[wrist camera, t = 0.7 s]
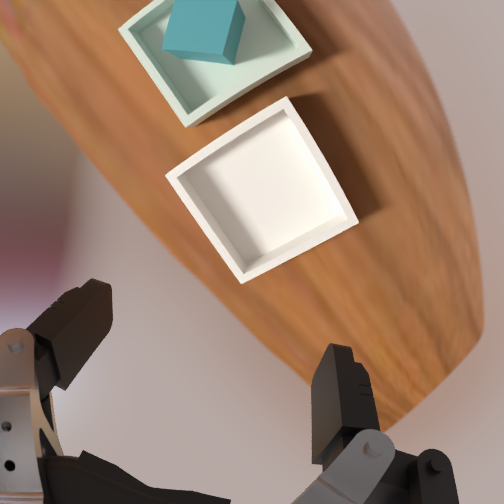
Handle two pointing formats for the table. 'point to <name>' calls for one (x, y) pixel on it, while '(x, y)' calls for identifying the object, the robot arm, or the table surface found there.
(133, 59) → the table surface
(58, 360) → the robot arm
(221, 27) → the teal cube
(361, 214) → the table surface
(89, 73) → the table surface
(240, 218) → the cream tray
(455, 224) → the table surface
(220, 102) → the sage tray
